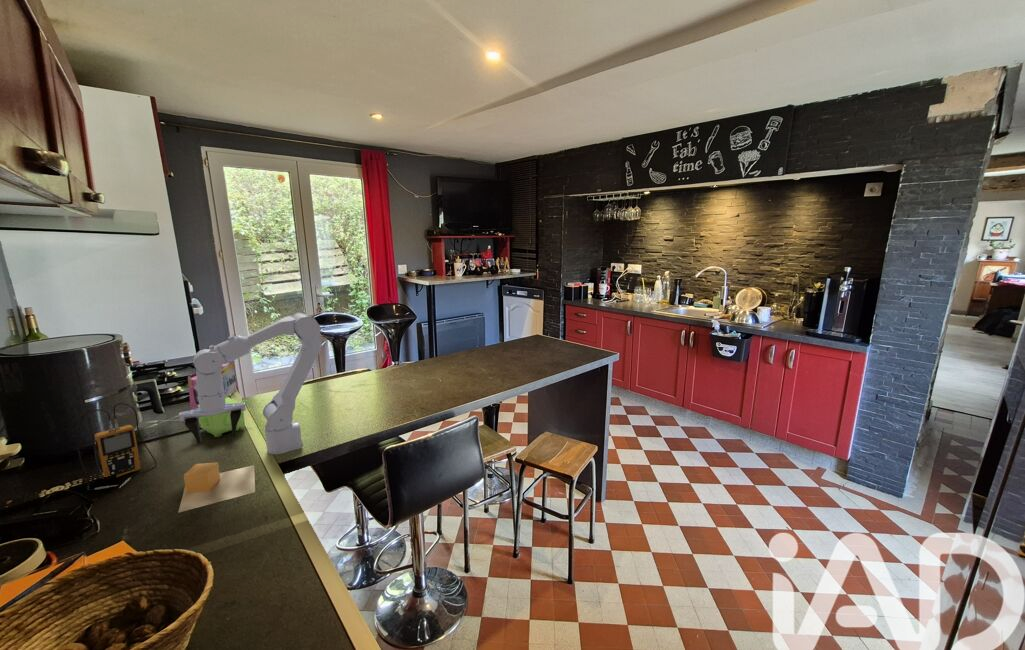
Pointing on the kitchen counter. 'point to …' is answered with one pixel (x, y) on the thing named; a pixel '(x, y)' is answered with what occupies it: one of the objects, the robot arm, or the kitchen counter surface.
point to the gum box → (228, 383)
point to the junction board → (222, 489)
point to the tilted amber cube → (202, 477)
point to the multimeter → (116, 450)
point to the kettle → (221, 421)
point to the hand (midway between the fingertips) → (217, 439)
